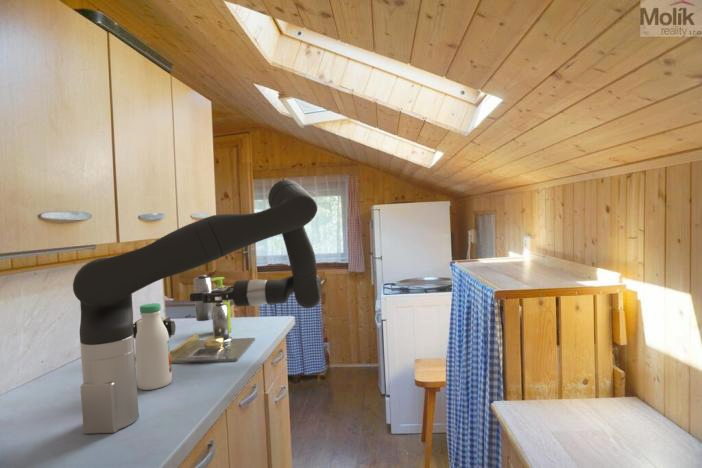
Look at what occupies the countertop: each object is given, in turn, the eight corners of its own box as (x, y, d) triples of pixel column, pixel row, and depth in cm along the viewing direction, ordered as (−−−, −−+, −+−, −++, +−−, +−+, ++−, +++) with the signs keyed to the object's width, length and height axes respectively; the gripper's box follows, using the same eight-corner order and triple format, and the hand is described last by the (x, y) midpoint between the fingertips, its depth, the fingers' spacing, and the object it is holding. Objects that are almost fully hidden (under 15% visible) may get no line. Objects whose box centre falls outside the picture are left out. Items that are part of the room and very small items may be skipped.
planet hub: (210, 320, 118) (207, 276, 117) (193, 321, 118) (190, 277, 117) (216, 316, 123) (213, 273, 122) (200, 317, 123) (197, 274, 122)
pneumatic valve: (172, 355, 125) (170, 316, 124) (131, 358, 123) (129, 319, 123) (178, 349, 130) (175, 312, 130) (139, 353, 129) (136, 314, 128)
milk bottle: (167, 389, 99) (162, 306, 98) (133, 392, 98) (127, 309, 97) (175, 377, 107) (170, 300, 106) (143, 380, 106) (138, 302, 105)
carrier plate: (236, 361, 116) (233, 314, 116) (166, 364, 117) (163, 316, 116) (255, 340, 137) (252, 299, 136) (195, 342, 137) (193, 302, 137)
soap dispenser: (208, 334, 147) (204, 278, 146) (224, 329, 153) (221, 275, 152) (218, 336, 144) (215, 279, 143) (234, 331, 149) (231, 276, 149)
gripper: (257, 276, 127) (202, 279, 127) (244, 283, 112) (182, 287, 113) (259, 300, 127) (204, 303, 127) (246, 311, 113) (184, 314, 113)
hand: (194, 295), depth 120 cm, fingers closed on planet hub, 4 cm apart
